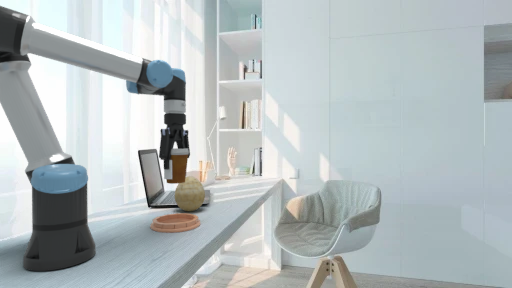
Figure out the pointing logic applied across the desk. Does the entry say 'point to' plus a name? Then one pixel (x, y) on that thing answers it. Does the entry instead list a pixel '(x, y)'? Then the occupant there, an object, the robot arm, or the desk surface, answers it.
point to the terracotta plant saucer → (175, 223)
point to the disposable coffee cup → (178, 165)
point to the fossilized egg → (190, 194)
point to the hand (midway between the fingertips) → (175, 177)
